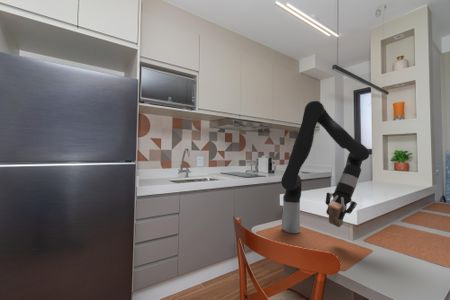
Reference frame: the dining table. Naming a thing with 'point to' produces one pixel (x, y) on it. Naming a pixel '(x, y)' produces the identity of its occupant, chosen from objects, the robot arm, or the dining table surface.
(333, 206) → the brown cardboard box
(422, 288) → the dining table surface
